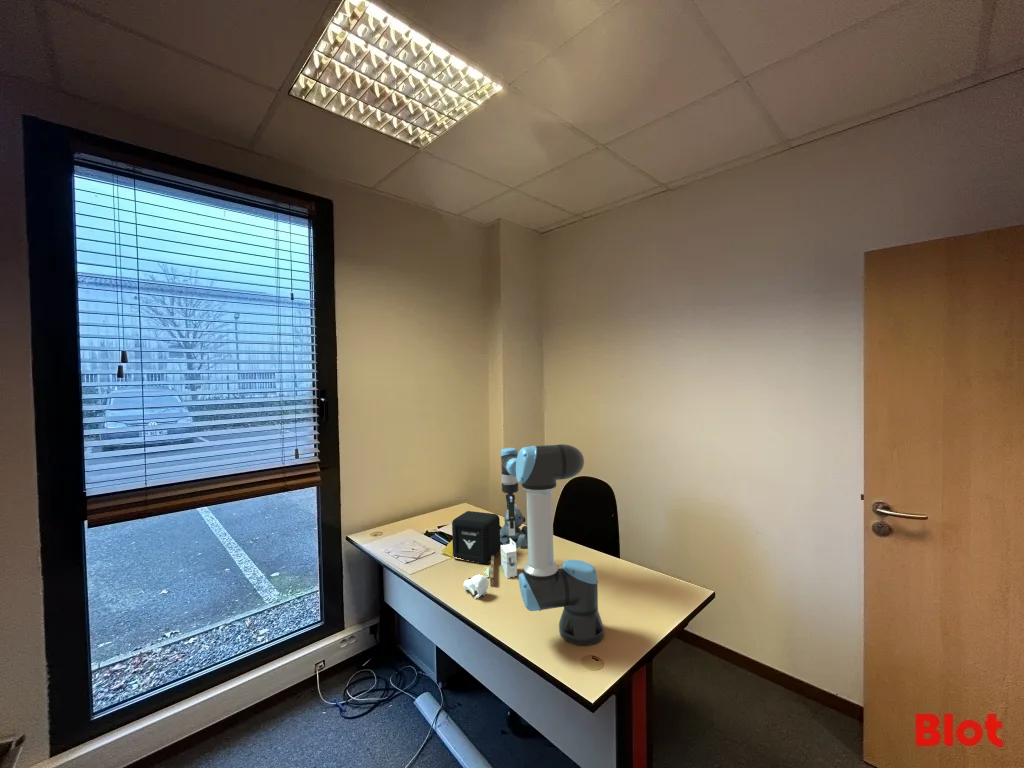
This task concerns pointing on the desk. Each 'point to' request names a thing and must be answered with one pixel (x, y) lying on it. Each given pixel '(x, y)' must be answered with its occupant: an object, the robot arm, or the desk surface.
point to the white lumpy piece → (477, 585)
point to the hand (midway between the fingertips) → (511, 529)
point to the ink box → (509, 559)
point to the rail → (492, 570)
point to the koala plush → (520, 534)
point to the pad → (487, 572)
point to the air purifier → (476, 536)
